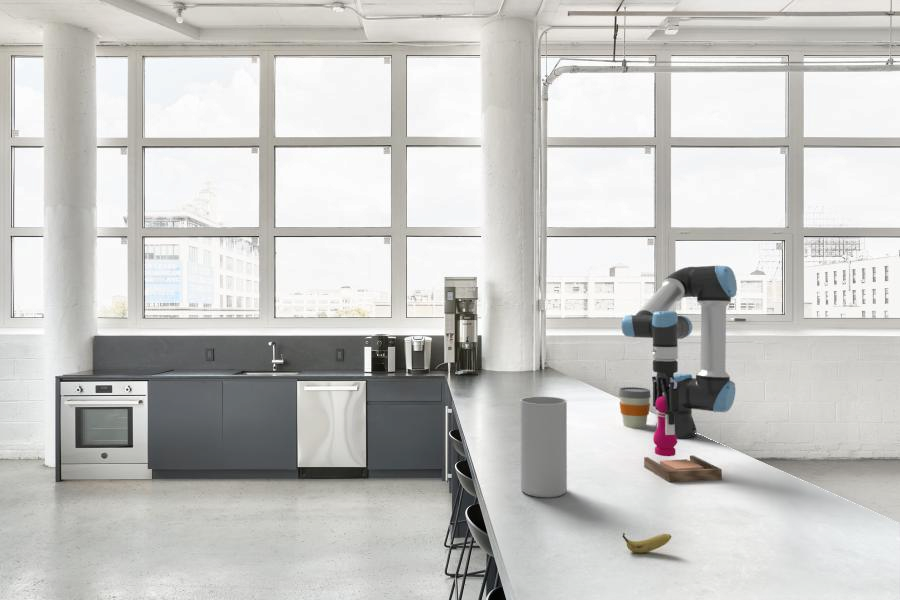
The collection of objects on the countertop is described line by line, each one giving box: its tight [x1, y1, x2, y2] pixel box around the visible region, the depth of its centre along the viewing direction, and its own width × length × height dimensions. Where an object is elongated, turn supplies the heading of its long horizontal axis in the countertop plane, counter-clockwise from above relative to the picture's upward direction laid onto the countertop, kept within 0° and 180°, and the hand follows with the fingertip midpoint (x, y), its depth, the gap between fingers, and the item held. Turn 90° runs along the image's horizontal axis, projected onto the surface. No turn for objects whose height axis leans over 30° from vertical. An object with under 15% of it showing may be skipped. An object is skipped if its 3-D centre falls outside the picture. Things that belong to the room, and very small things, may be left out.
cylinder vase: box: [520, 396, 568, 499], centre depth 168 cm, size 12×12×25 cm
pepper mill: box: [652, 392, 678, 457], centre depth 195 cm, size 7×7×20 cm
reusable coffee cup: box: [618, 386, 652, 429], centre depth 252 cm, size 13×12×15 cm
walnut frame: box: [643, 455, 723, 483], centre depth 184 cm, size 16×16×3 cm
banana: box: [621, 532, 672, 554], centre depth 127 cm, size 10×2×4 cm, turn 87°
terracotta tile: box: [659, 458, 704, 470], centre depth 185 cm, size 9×9×3 cm
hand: (665, 432), depth 195 cm, fingers closed on pepper mill, 5 cm apart
